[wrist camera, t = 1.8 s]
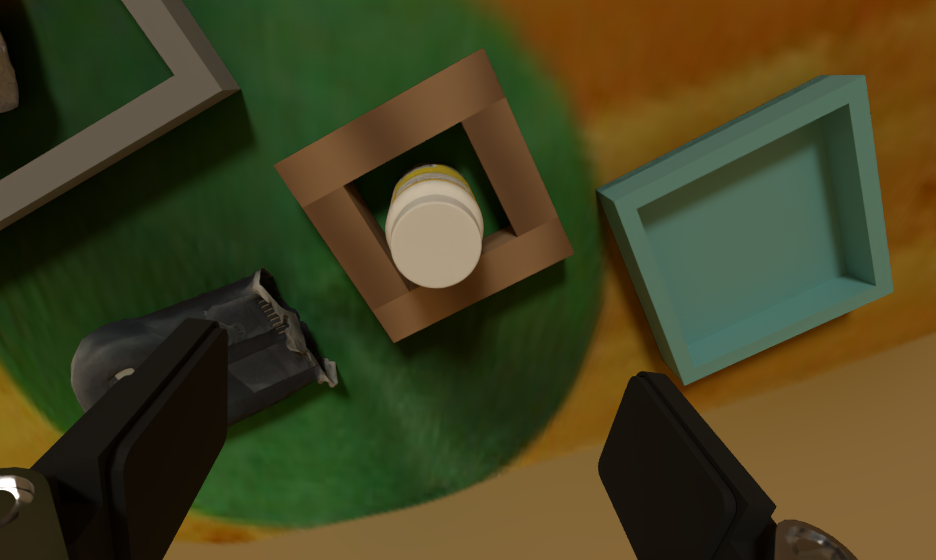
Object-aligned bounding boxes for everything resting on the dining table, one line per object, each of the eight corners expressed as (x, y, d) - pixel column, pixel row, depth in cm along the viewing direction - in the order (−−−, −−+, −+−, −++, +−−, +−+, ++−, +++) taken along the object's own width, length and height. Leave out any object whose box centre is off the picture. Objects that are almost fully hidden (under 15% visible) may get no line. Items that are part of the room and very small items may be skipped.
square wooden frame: (478, 50, 25) (483, 47, 23) (562, 240, 30) (574, 253, 27) (286, 157, 26) (273, 165, 24) (396, 323, 31) (393, 342, 29)
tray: (820, 75, 27) (864, 75, 24) (854, 273, 32) (893, 291, 30) (595, 189, 29) (613, 201, 26) (663, 360, 34) (684, 385, 31)
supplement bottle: (452, 251, 29) (461, 312, 22) (380, 221, 28) (363, 275, 21) (485, 180, 28) (509, 220, 20) (411, 146, 27) (406, 174, 19)
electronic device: (266, 238, 30) (46, 346, 29) (256, 276, 25) (-8, 406, 24) (341, 342, 35) (152, 437, 34) (344, 391, 30) (125, 503, 29)
